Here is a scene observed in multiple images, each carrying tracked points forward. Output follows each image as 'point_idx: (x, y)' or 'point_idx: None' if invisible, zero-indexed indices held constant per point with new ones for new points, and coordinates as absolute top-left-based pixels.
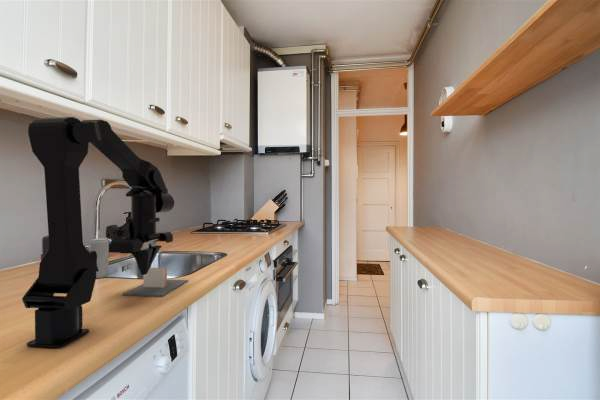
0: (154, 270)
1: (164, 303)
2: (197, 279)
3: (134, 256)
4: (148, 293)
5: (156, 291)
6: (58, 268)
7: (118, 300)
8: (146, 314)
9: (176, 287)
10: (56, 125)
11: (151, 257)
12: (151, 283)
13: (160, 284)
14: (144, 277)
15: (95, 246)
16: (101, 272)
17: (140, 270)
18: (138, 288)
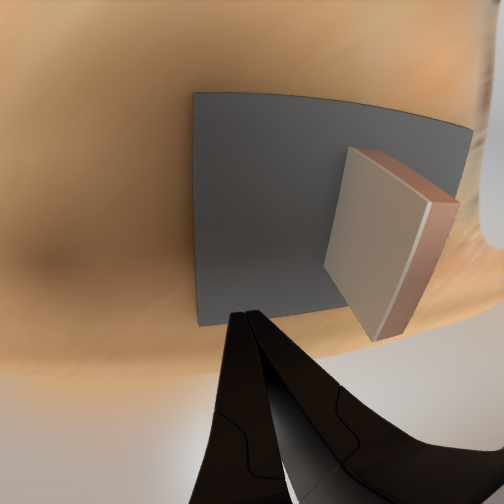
0: (391, 282)
1: (126, 362)
2: (429, 300)
3: (192, 495)
4: (214, 255)
5: (254, 272)
6: None
7: (92, 146)
8: (26, 362)
9: (325, 308)
10: None
11: (292, 477)
12: (349, 210)
13: (334, 260)
14: (382, 179)
15: None
16: None
17: (226, 341)
18: (315, 134)
